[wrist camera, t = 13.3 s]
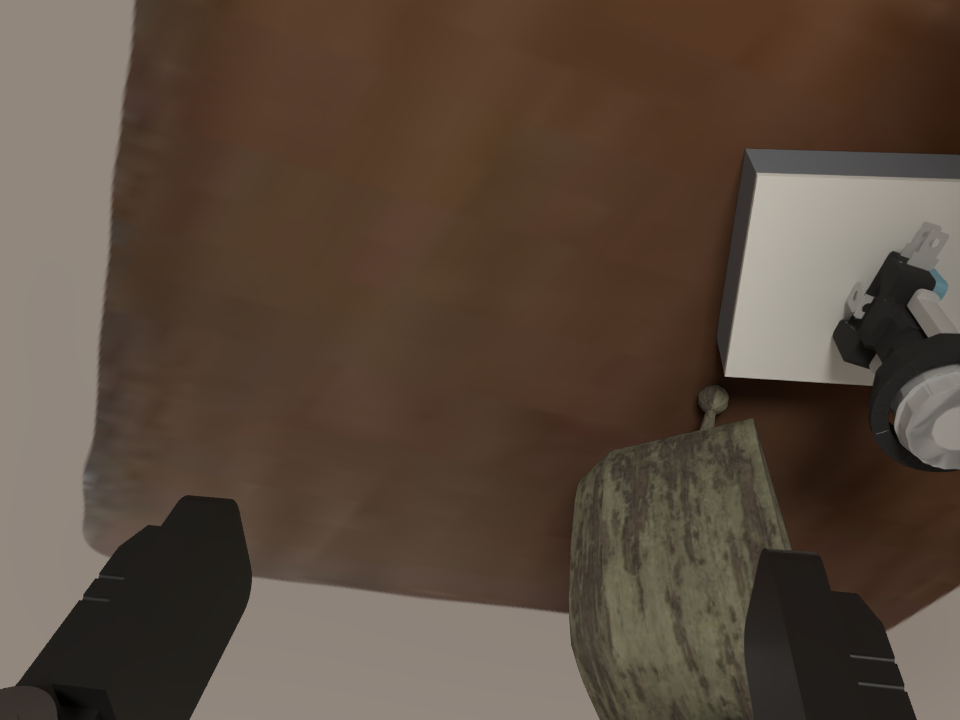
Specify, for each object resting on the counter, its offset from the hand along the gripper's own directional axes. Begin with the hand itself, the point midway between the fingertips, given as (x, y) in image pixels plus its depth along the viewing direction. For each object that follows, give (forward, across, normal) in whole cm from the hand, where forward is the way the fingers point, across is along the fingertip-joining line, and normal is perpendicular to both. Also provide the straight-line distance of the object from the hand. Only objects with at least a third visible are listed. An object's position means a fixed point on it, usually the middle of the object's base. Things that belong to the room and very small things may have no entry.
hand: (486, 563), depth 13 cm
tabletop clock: (+30, -8, +21) cm, 38 cm away
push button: (+26, -14, +7) cm, 31 cm away
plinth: (+30, -13, +7) cm, 34 cm away
